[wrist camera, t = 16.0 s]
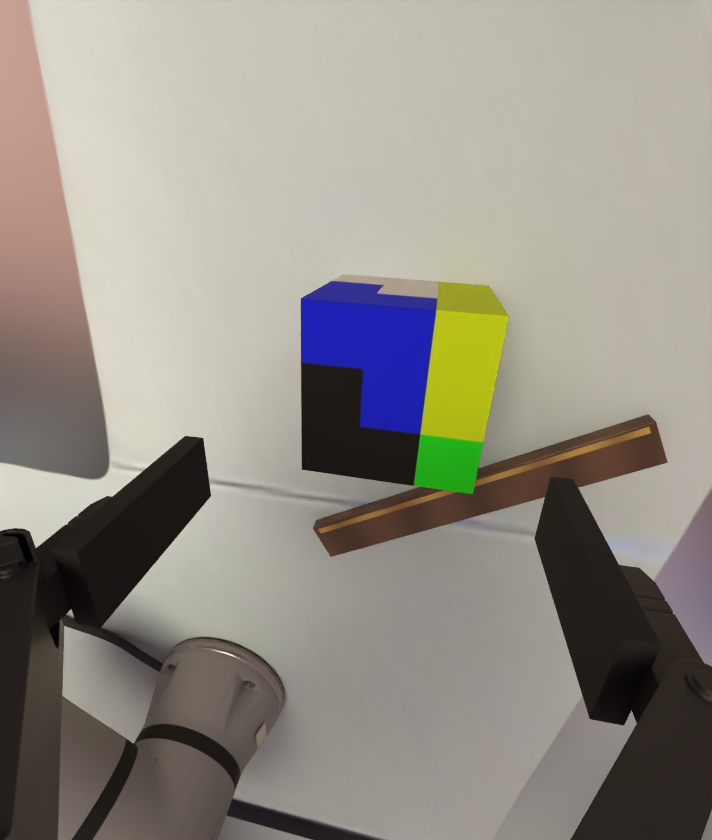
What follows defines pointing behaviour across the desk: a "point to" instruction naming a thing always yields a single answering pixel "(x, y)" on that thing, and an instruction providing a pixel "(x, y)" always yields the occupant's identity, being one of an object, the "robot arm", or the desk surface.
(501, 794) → the desk surface
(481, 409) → the puzzle toy
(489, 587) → the desk surface
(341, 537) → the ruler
